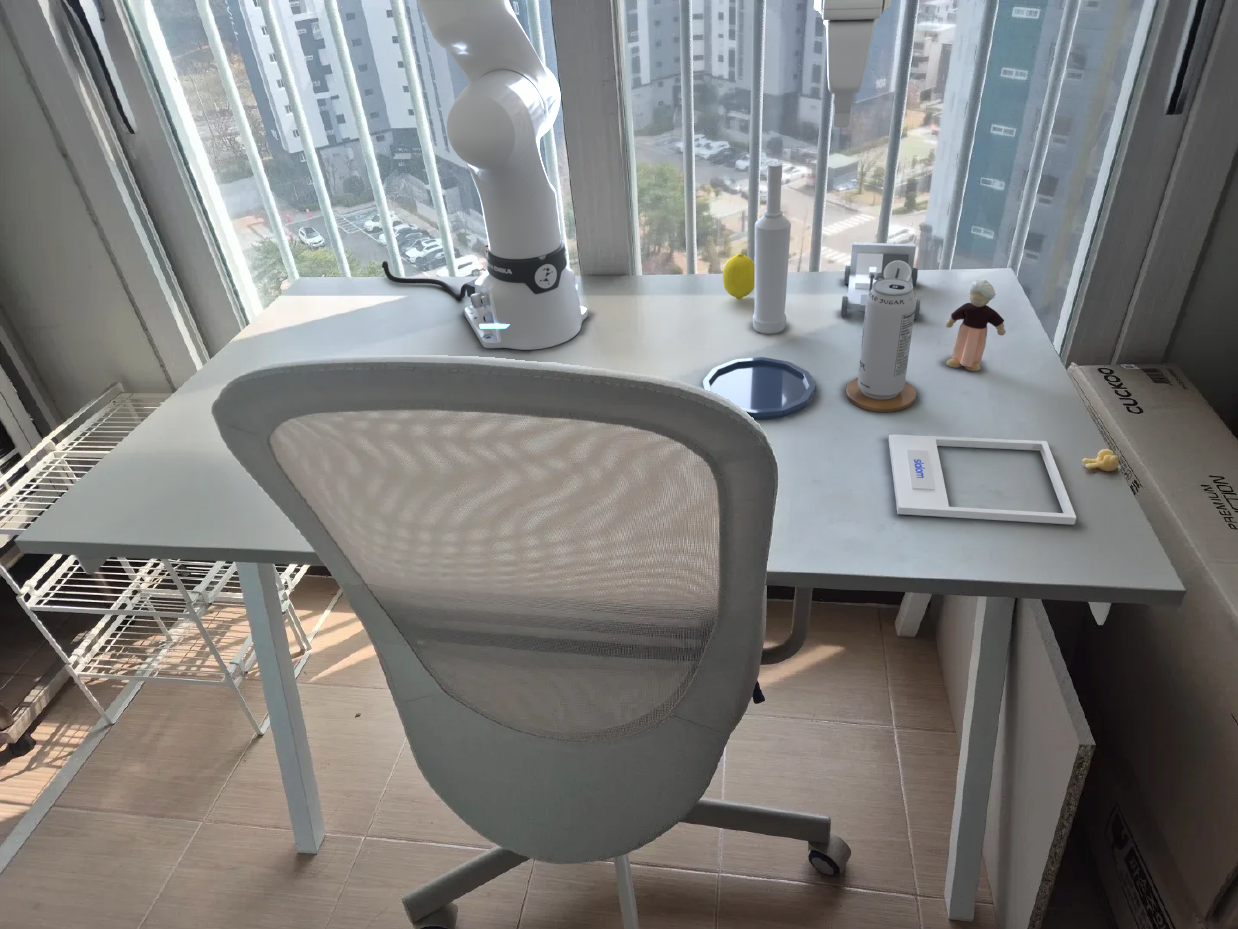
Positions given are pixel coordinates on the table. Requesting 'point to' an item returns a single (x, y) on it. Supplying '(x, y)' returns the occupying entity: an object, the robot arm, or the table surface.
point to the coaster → (888, 405)
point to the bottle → (771, 258)
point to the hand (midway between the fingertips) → (841, 116)
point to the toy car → (877, 271)
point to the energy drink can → (886, 338)
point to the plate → (762, 386)
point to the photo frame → (926, 489)
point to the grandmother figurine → (974, 326)
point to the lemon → (739, 276)
